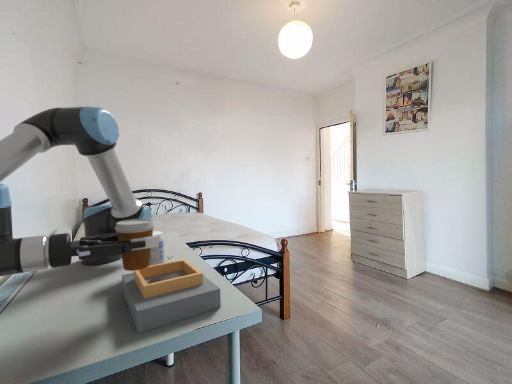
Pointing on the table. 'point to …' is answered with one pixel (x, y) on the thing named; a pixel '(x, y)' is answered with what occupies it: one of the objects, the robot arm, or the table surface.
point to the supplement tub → (157, 250)
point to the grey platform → (168, 294)
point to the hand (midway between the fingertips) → (154, 237)
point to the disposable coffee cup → (133, 231)
